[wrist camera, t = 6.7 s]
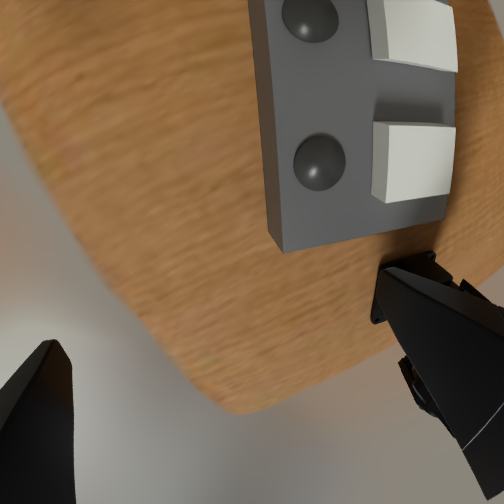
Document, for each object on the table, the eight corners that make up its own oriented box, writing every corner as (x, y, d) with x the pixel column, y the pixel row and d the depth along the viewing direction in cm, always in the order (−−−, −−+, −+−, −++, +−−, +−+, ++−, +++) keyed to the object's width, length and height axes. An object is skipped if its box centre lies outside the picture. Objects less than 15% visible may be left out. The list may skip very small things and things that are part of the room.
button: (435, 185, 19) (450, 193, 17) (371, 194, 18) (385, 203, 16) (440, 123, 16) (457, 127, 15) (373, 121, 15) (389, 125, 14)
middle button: (442, 70, 14) (459, 72, 13) (372, 59, 13) (389, 58, 12) (437, 9, 12) (453, 7, 11) (364, -12, 11) (380, -17, 10)
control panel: (419, 204, 23) (445, 220, 20) (268, 231, 21) (284, 255, 18) (398, -88, 10) (423, -99, 7) (232, -123, 8) (244, -147, 5)
